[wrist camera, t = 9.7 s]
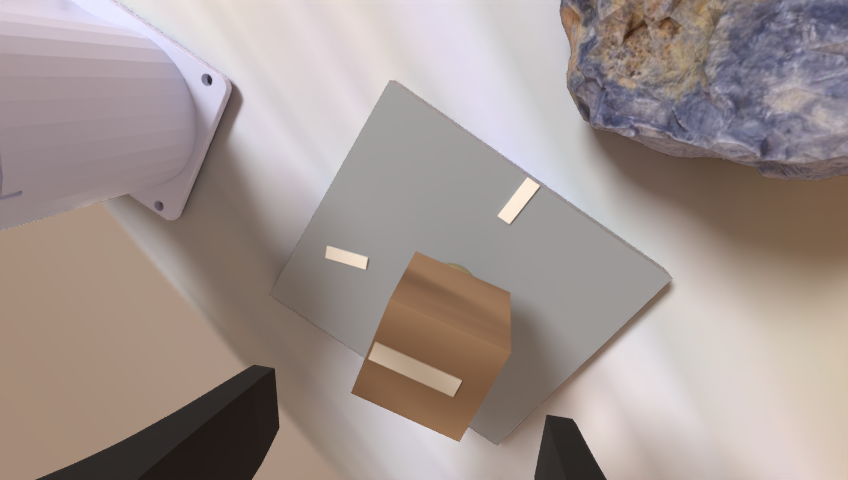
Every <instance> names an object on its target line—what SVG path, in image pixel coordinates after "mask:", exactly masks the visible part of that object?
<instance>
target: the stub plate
mask: <svg viewBox="0 0 848 480" xmlns="http://www.w3.org/2000/svg"><path fill="white" fill-rule="evenodd" d="M416 251H417V252H419V253H421V254H423V255H426V256H428V257H430V258H433V259H435V260H437V261H439V262H442V263H444V264H446V265H449V266H451V267H453V268H455V269H458V270H460V271H462V272H465V273H467V274H469V275H471V276H474V277H476V278H478V279H480V280H483V281H485V282H487V283H490V284H492V285H494V286H496V287H499V288H501V289H503V290H506V291H508V292H510V307H511V354H510V355H509V357H508V359H507V361H506V362H505V364H504V366H503V367H502V369H501V371H500V373H499V374H498V376H497V378H496V379H495V381H494V383H493V385H492V386H491V388H490V390H489V391H488V393H487V395H486V397H485V398H484V400H483V402H482V404H481V405H480V407H479V409H478V410H477V412H476V414H475V416H474V417H473V419H472V421H471V422H470V424H469V426H468V427H470V428H471V429H473V430H474V431H476V432H477V433H479V434H480V435H482V436H483V437H485V438H486V439H488V440H489V441H491V442H492V443H494V444H495V445H498V444H499V443H500V442H501V441H502V440H504V439H505V438H506V437H507V436H508V435H509V434H510V433H511V432H512V431H513V430H514V429H515V428H516V427H517V426H518V425H519V424H520V423H521V422H522V421H523V420H525V419H526V418H527V417H528V416H529V415H530V414H531V413H532V412H533V411H534V410H535V409H536V408H537V407H538V406H539V405H540V404H541V403H542V402H543V401H544V400H545V399H547V398H548V397H549V396H550V395H551V394H552V393H553V392H554V391H555V390H556V389H557V388H558V387H559V386H560V385H561V384H562V383H563V382H564V381H565V380H566V379H568V378H569V377H570V376H571V375H572V374H573V373H574V372H575V371H576V370H577V369H578V368H579V367H580V366H581V365H582V364H583V363H584V362H585V361H586V360H587V359H588V358H590V357H591V356H592V355H593V354H594V353H595V352H596V351H597V350H598V349H599V348H600V347H601V346H602V345H603V344H604V343H605V342H606V341H607V340H608V339H609V338H611V337H612V336H613V335H614V334H615V333H616V332H617V331H618V330H619V329H620V328H621V327H622V326H623V325H624V324H625V323H626V322H627V321H628V320H629V319H630V318H631V317H633V316H634V315H635V314H636V313H637V312H638V311H639V310H640V309H641V308H642V307H643V306H644V305H645V304H646V303H647V302H648V301H649V300H650V299H651V298H652V297H654V296H655V295H656V294H657V293H658V292H659V291H660V290H661V289H662V288H663V287H664V286H665V285H666V284H667V283H668V282H669V281H670V280H671V279H672V277H671V276H670V275H669V273H668V272H667V271H666V270H665V269H664V268H663V267H661V266H660V265H659V264H657V263H656V262H654V261H653V260H651V259H650V258H649V257H647V256H646V255H644V254H643V253H641V252H640V251H639V250H637V249H636V248H634V247H633V246H631V245H630V244H629V243H627V242H626V241H624V240H623V239H621V238H620V237H619V236H617V235H616V234H614V233H613V232H611V231H610V230H609V229H607V228H606V227H604V226H603V225H601V224H600V223H599V222H597V221H596V220H594V219H593V218H591V217H590V216H589V215H587V214H586V213H584V212H583V211H581V210H580V209H579V208H577V207H576V206H574V205H573V204H571V203H570V202H568V201H567V200H566V199H564V198H563V197H561V196H560V195H558V194H557V193H556V192H554V191H553V190H551V189H550V188H548V187H547V186H546V185H544V184H543V183H541V182H540V181H538V180H537V179H536V178H534V177H533V176H531V175H530V174H528V173H527V172H526V171H524V170H523V169H521V168H520V167H518V166H517V165H516V164H514V163H513V162H511V161H510V160H508V159H507V158H506V157H504V156H503V155H501V154H500V153H498V152H497V151H496V150H494V149H493V148H491V147H490V146H488V145H487V144H486V143H484V142H483V141H481V140H480V139H478V138H477V137H476V136H474V135H473V134H471V133H470V132H468V131H467V130H466V129H464V128H463V127H461V126H460V125H458V124H457V123H455V122H454V121H453V120H451V119H450V118H448V117H447V116H445V115H444V114H443V113H441V112H440V111H438V110H437V109H435V108H434V107H433V106H431V105H430V104H428V103H427V102H425V101H424V100H423V99H421V98H420V97H418V96H417V95H415V94H414V93H413V92H411V91H410V90H408V89H407V88H405V87H404V86H403V85H401V84H400V83H398V82H397V81H390V80H389V82H388V84H387V86H386V88H385V89H384V91H383V93H382V95H381V96H380V98H379V100H378V102H377V104H376V105H375V107H374V109H373V111H372V112H371V114H370V116H369V118H368V120H367V121H366V123H365V125H364V127H363V128H362V130H361V132H360V134H359V136H358V137H357V139H356V141H355V143H354V144H353V146H352V148H351V150H350V152H349V153H348V155H347V157H346V159H345V160H344V162H343V164H342V166H341V168H340V169H339V171H338V173H337V175H336V176H335V178H334V180H333V182H332V184H331V185H330V187H329V189H328V191H327V192H326V194H325V196H324V198H323V200H322V201H321V203H320V205H319V207H318V208H317V210H316V212H315V214H314V216H313V217H312V219H311V221H310V223H309V224H308V226H307V228H306V230H305V232H304V233H303V235H302V237H301V239H300V240H299V242H298V244H297V246H296V248H295V249H294V251H293V253H292V255H291V256H290V258H289V260H288V262H287V264H286V265H285V267H284V269H283V271H282V272H281V274H280V276H279V278H278V280H277V281H276V283H275V285H274V287H273V288H272V290H271V292H270V294H269V295H270V296H272V297H273V298H275V299H276V300H278V301H279V302H281V303H282V304H284V305H285V306H287V307H288V308H290V309H291V310H293V311H294V312H296V313H297V314H299V315H300V316H302V317H303V318H305V319H306V320H308V321H309V322H311V323H312V324H314V325H315V326H317V327H318V328H320V329H321V330H323V331H325V332H326V333H328V334H329V335H331V336H332V337H334V338H335V339H337V340H338V341H340V342H341V343H343V344H344V345H346V346H347V347H349V348H350V349H352V350H353V351H355V352H356V353H358V354H359V355H361V356H362V357H364V358H365V357H366V355H367V353H368V350H369V348H370V345H371V343H372V340H373V338H374V336H375V333H376V331H377V328H378V326H379V323H380V321H381V319H382V316H383V314H384V311H385V309H386V306H387V304H388V302H389V299H390V297H391V296H392V294H393V292H394V290H395V288H396V286H397V285H398V283H399V281H400V279H401V277H402V275H403V274H404V272H405V270H406V268H407V266H408V264H409V263H410V261H411V259H412V257H413V255H414V253H415V252H416Z"/></svg>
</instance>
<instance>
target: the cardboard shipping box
mask: <svg viewBox="0 0 848 480" xmlns="http://www.w3.org/2000/svg"><path fill="white" fill-rule="evenodd" d="M510 354H511V307H510V292H508V291H506V290H503V289H501V288H499V287H496V286H494V285H492V284H490V283H487V282H485V281H483V280H480V279H478V278H476V277H474V276H471V275H469V274H467V273H465V272H462V271H460V270H458V269H455V268H453V267H451V266H449V265H446V264H444V263H442V262H439V261H437V260H435V259H433V258H430V257H428V256H426V255H423V254H421V253H419V252H417V251H416V252H415V253H414V255H413V257H412V259H411V261H410V263H409V264H408V266H407V268H406V270H405V272H404V274H403V275H402V277H401V279H400V281H399V283H398V285H397V286H396V288H395V290H394V292H393V294H392V296H391V297H390V299H389V302H388V304H387V306H386V309H385V311H384V314H383V316H382V319H381V321H380V323H379V326H378V328H377V331H376V333H375V336H374V338H373V340H372V343H371V345H370V348H369V350H368V353H367V355H366V357H365V360H364V363H363V365H362V367H361V370H360V372H359V375H358V377H357V380H356V382H355V384H354V387H353V389H352V392H351V393H352V394H354V395H357V396H359V397H361V398H363V399H365V400H368V401H370V402H372V403H374V404H377V405H379V406H381V407H383V408H385V409H388V410H390V411H392V412H394V413H396V414H399V415H401V416H403V417H405V418H407V419H410V420H412V421H414V422H416V423H419V424H421V425H423V426H425V427H427V428H430V429H432V430H434V431H436V432H438V433H441V434H443V435H445V436H447V437H449V438H452V439H454V440H456V441H458V442H459V441H460V440H461V438H462V436H463V434H464V433H465V431H466V429H467V428H468V426H469V424H470V422H471V421H472V419H473V417H474V416H475V414H476V412H477V410H478V409H479V407H480V405H481V404H482V402H483V400H484V398H485V397H486V395H487V393H488V391H489V390H490V388H491V386H492V385H493V383H494V381H495V379H496V378H497V376H498V374H499V373H500V371H501V369H502V367H503V366H504V364H505V362H506V361H507V359H508V357H509V355H510Z"/></svg>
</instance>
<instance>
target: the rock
mask: <svg viewBox="0 0 848 480" xmlns="http://www.w3.org/2000/svg"><path fill="white" fill-rule="evenodd" d="M560 16H561V21H562V25H563V27H564V29H565V32H566V34H567V37H568V40H569V43H570V46H571V58H570V59H569V64H568V71H567V73H566V74H567V88H568V90H569V92H570V94H571V96H572V98H573V100H574V102H575V104H576V106H577V108H578V110H579V112H580V114H581V115H582V117H583V119H584V120H585V121H587V122H589V123H591V126H592V127H593V128H594V129H600V130H604V131H609V132H616V133H618V134H620V135H622V136H626V137H627V138H629V139H631V140H633V141H637V142H640V143H642V144H643V145H645V146H647V147H648V148H650V149H653V150H655V151H658V152H661V153H665V154H668V155H671V156H675V157H681V158H684V157H692V158H695V157H703V156H704V157H715V158H722V160H723V161H725V160H726V159H728V160H731V161H733V162H736V163H739V164H744V165H748V166H752V167H754V168H757V170H758V171H759V172H760V174H761V175H762V176H764V177H766V178H778V179H784V180H826V179H829V178H832V177H835V176H840V175H848V0H561V5H560ZM666 156H667V155H666Z"/></svg>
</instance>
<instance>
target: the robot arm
mask: <svg viewBox="0 0 848 480" xmlns="http://www.w3.org/2000/svg"><path fill="white" fill-rule="evenodd" d="M208 75H210V76H211V78H212V84H211V85H210V84H209V83H208V81H207V77H208ZM231 91H232V87H231V83H230V81H229V79H228V78H227V77H226V76H224V75H223V74H221V73H220V72H218V71H217V70H215V69H214V68H212V67H211V66H210V65H208V64H207V63H205V62H204V61H202V60H201V59H199V58H198V57H196V56H195V55H193V54H192V53H191V52H189V51H188V50H186V49H185V48H183V47H182V46H180V45H179V44H177V43H176V42H174V41H173V40H172V39H170V38H169V37H167V36H166V35H164V34H163V33H161V32H160V31H158V30H157V29H156V28H154V27H153V26H151V25H150V24H148V23H147V22H145V21H144V20H142V19H141V18H139V17H138V16H137V15H135V14H134V13H132V12H131V11H129V10H128V9H126V8H125V7H123V6H122V5H120V4H119V3H118V2H116V1H115V0H0V231H2V230H6V229H9V228H13V227H16V226H19V225H23V224H26V223H30V222H33V221H37V220H40V219H43V218H47V217H50V216H54V215H57V214H60V213H64V212H67V211H71V210H74V209H77V208H81V207H84V206H88V205H91V204H95V203H98V202H102V201H105V200H108V199H112V198H115V197H119V196H122V195H125V194H128V195H130V196H131V197H133V198H134V199H136V200H137V201H139V202H140V203H142V204H143V205H145V206H146V207H148V208H149V209H151V210H152V211H154V212H155V213H157V214H158V215H160V216H161V217H163V218H164V219H166V220H168V221H172V220H175V219H177V218H179V217H180V216H181V214H182V211H183V209H184V206H185V204H186V201H187V199H188V197H189V194H190V192H191V189H192V187H193V184H194V182H195V179H196V177H197V175H198V172H199V170H200V167H201V165H202V162H203V160H204V158H205V155H206V153H207V150H208V148H209V145H210V143H211V141H212V138H213V136H214V133H215V131H216V128H217V126H218V123H219V121H220V119H221V116H222V114H223V111H224V109H225V106H226V104H227V102H228V99H229V97H230V94H231ZM160 202H161V203H162V204H163V206H164V208H163V207H162V206H161V204H160ZM278 430H279V416H278V404H277V392H276V379H275V368H269V367H263V366H257V365H253V366H251V367H249V368H248V369H246V370H244V371H242V372H241V373H239V374H237V375H236V376H234V377H232V378H231V379H229V380H227V381H226V382H224V383H223V384H221V385H219V386H218V387H216V388H214V389H213V390H211V391H209V392H208V393H206V394H204V395H203V396H201V397H199V398H198V399H196V400H194V401H193V402H191V403H189V404H188V405H186V406H184V407H183V408H181V409H179V410H178V411H176V412H174V413H172V414H171V415H169V416H167V417H165V418H163V419H161V420H160V421H158V422H156V423H155V424H152V425H151V426H149V427H147V428H145V429H143V430H142V431H140V432H138V433H137V434H135V435H132V436H131V437H129V438H127V439H125V440H123V441H121V442H119V443H117V444H115V445H113V446H111V447H109V448H107V449H105V450H102V451H100V452H98V453H96V454H94V455H92V456H90V457H88V458H85V459H83V460H81V461H79V462H77V463H74V464H72V465H70V466H68V467H65V468H63V469H61V470H58V471H55V472H53V473H51V474H48V475H46V476H43V477H41V478H39V479H36V480H252V478H253V477H254V475H255V473H256V472H257V470H258V469H259V467H260V466H261V464H262V462H263V460H264V458H265V456H266V454H267V452H268V450H269V448H270V446H271V444H272V442H273V440H274V438H275V436H276V434H277V431H278ZM535 480H607V479H606V478H605V476H604V474H603V472H602V471H601V469H600V467H599V466H598V464H597V462H596V460H595V458H594V457H593V455H592V453H591V451H590V449H589V448H588V446H587V444H586V442H585V440H584V438H583V436H582V434H581V432H580V430H579V429H578V427H577V425H576V423H575V422H574V420H573V419H570V418H564V417H558V416H552V415H547V416H546V421H545V426H544V431H543V436H542V441H541V446H540V451H539V456H538V461H537V466H536V471H535Z"/></svg>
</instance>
